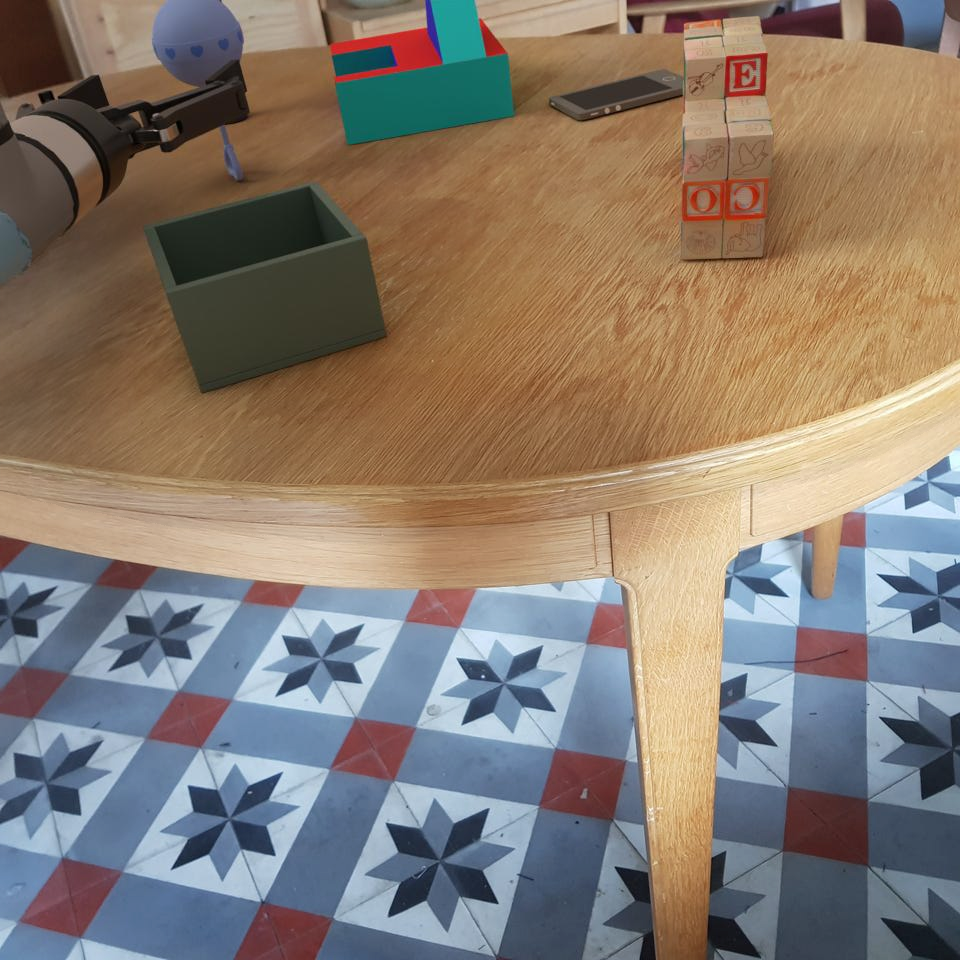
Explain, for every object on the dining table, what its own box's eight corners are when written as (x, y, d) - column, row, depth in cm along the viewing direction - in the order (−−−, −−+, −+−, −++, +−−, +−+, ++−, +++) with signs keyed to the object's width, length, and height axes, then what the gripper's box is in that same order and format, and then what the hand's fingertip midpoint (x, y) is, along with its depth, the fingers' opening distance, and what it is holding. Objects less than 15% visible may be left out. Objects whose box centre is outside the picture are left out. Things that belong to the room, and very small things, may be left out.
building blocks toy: (480, 63, 126) (461, -96, 115) (514, 115, 106) (495, -71, 95) (339, 87, 125) (307, -71, 114) (347, 145, 105) (309, -40, 94)
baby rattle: (289, 178, 98) (242, -13, 88) (210, 202, 96) (151, 8, 85) (263, 158, 105) (215, -22, 94) (187, 180, 102) (129, -2, 91)
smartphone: (579, 121, 101) (578, 114, 100) (547, 104, 107) (546, 97, 107) (701, 89, 104) (701, 83, 104) (663, 74, 110) (663, 68, 110)
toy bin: (174, 316, 75) (142, 225, 71) (336, 269, 79) (316, 180, 74) (201, 393, 65) (165, 293, 60) (387, 336, 68) (366, 237, 64)
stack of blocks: (766, 259, 70) (777, 87, 63) (680, 263, 72) (680, 95, 64) (752, 158, 87) (760, 12, 79) (682, 162, 88) (683, 19, 81)
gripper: (-69, 226, 74) (60, 137, 90) (231, 202, 69) (309, 112, 86) (-118, 129, 69) (28, 53, 86) (199, 96, 65) (288, 23, 81)
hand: (169, 83), depth 86 cm, fingers open, 13 cm apart
